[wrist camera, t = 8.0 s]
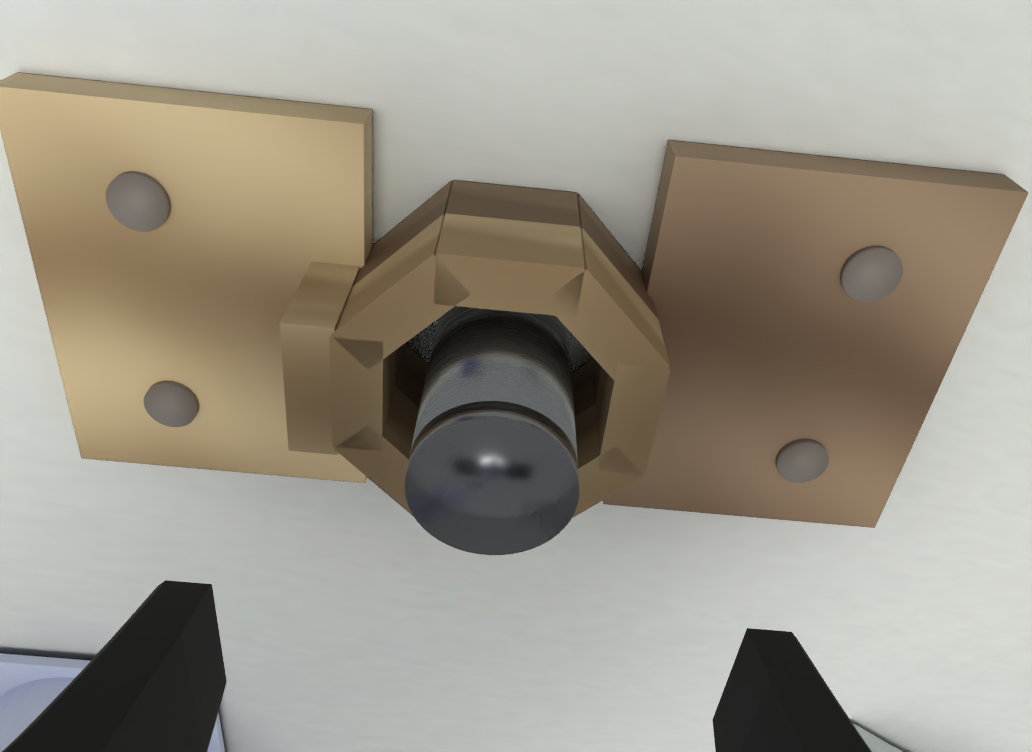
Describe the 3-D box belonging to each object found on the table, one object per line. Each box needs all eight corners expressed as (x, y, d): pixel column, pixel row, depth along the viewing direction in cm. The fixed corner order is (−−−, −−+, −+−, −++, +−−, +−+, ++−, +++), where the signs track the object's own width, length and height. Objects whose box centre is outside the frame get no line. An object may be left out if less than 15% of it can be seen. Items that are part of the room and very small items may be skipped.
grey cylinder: (563, 376, 20) (572, 558, 15) (439, 371, 20) (407, 551, 15) (572, 263, 18) (587, 426, 13) (438, 258, 18) (401, 418, 13)
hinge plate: (862, 501, 22) (885, 550, 20) (364, 457, 22) (351, 504, 20) (1004, 175, 17) (1049, 208, 16) (362, 108, 17) (344, 136, 15)
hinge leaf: (608, 479, 22) (619, 582, 19) (99, 433, 21) (27, 533, 18) (677, 141, 17) (709, 208, 14) (17, 72, 16) (-100, 127, 13)
